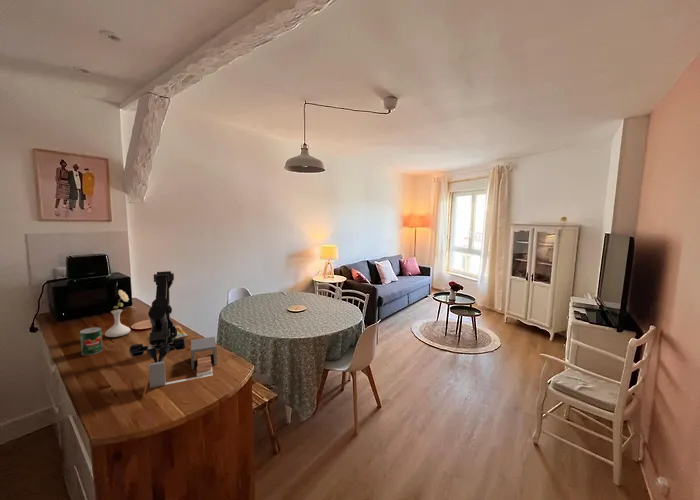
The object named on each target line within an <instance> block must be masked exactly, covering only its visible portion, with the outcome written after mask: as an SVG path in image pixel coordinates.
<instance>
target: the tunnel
mask: <svg viewBox="0 0 700 500" xmlns="http://www.w3.org/2000/svg"><path fill="white" fill-rule="evenodd" d="M206 351H212V355H213V357H212V358H213V366H217V364H218V363H217V361H218V357H217V355H218V354H217V353H218V352H217V342H216V336H211V337H204V338H203V337H202V338H195V339H190V358H191V359H190V361H191V363H190V365H191V366H190V367H191V370H194V369H195V353H200V352H206Z"/></svg>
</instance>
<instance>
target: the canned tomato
mask: <svg viewBox="0 0 700 500" xmlns="http://www.w3.org/2000/svg"><path fill="white" fill-rule="evenodd" d="M102 334H103V333H102V327H100V326H94V327H87V328H84V329H81V330H80V331H79V336H80V338H79V339H80V354H81V355H82V356H91V355H95V354H99V353H101V352H102V351H103V335H102Z"/></svg>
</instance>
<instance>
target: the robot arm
mask: <svg viewBox="0 0 700 500" xmlns="http://www.w3.org/2000/svg"><path fill="white" fill-rule="evenodd" d="M173 281H175V273H173V272H172V271H171V270H169V271H168V270H166V271H156V273H154V274H153V283H155V285H156V291H155V293H156V294H155V299H154V300H153V301H152V302H151V307H149V310H148V314H147V315H148V318H149V321H150V324H151V332H149V344H150V345H145V346H144V345H143V343H137V344H131V345H130V346H129V350H128V351H129V354H130V357H131V358H133V357H140V356H143V355H144V352H146V354H147V355H148V357H151V358H152V360H153V361H154V362H153V363H155V362H161V361H164V358H165V357H166V355H167V354H169V353H170V352H171V351H174V350H176V351H179V350H184V349H186V341H185V339H186V338H185V339H184V338H178V339H174V342H173V338H175V337H177V329H176V328H175V326H176V325H174V324H175V323H174V321H173V320H172V319H171V315H172V312H173V308H172V306H171V305H170V302H171V301H170V288H171V287H172V285H173V283H174V282H173ZM173 333H174V334H173ZM157 351H158V352H159V354H158V353H157Z"/></svg>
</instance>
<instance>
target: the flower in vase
mask: <svg viewBox="0 0 700 500" xmlns="http://www.w3.org/2000/svg"><path fill="white" fill-rule="evenodd" d="M118 295H119V297H120V298H119V299H118V302H117V305H114V306H113V309H114V310H111V311H110V312H111V314H112V315H113V318H114V324H113V325H112V326H111V327H109V328H108V329H107V330H106V331H105V333H104V336H105V337H108V338H117V337H122V336H126V335H127V334H129V333H130V332H131V328H130V327H129V326H127V325H124V324H122V323H121V320H120V319H121V313H122V312H123V309H118V308H119V307H121V308H122V307H124V303H123V302H125V303H128V302H129V301H130V298H129V295H128V294H127V293H126V291H124V290H122V289H119V290H118ZM121 300H122V301H123V302H121Z"/></svg>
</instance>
